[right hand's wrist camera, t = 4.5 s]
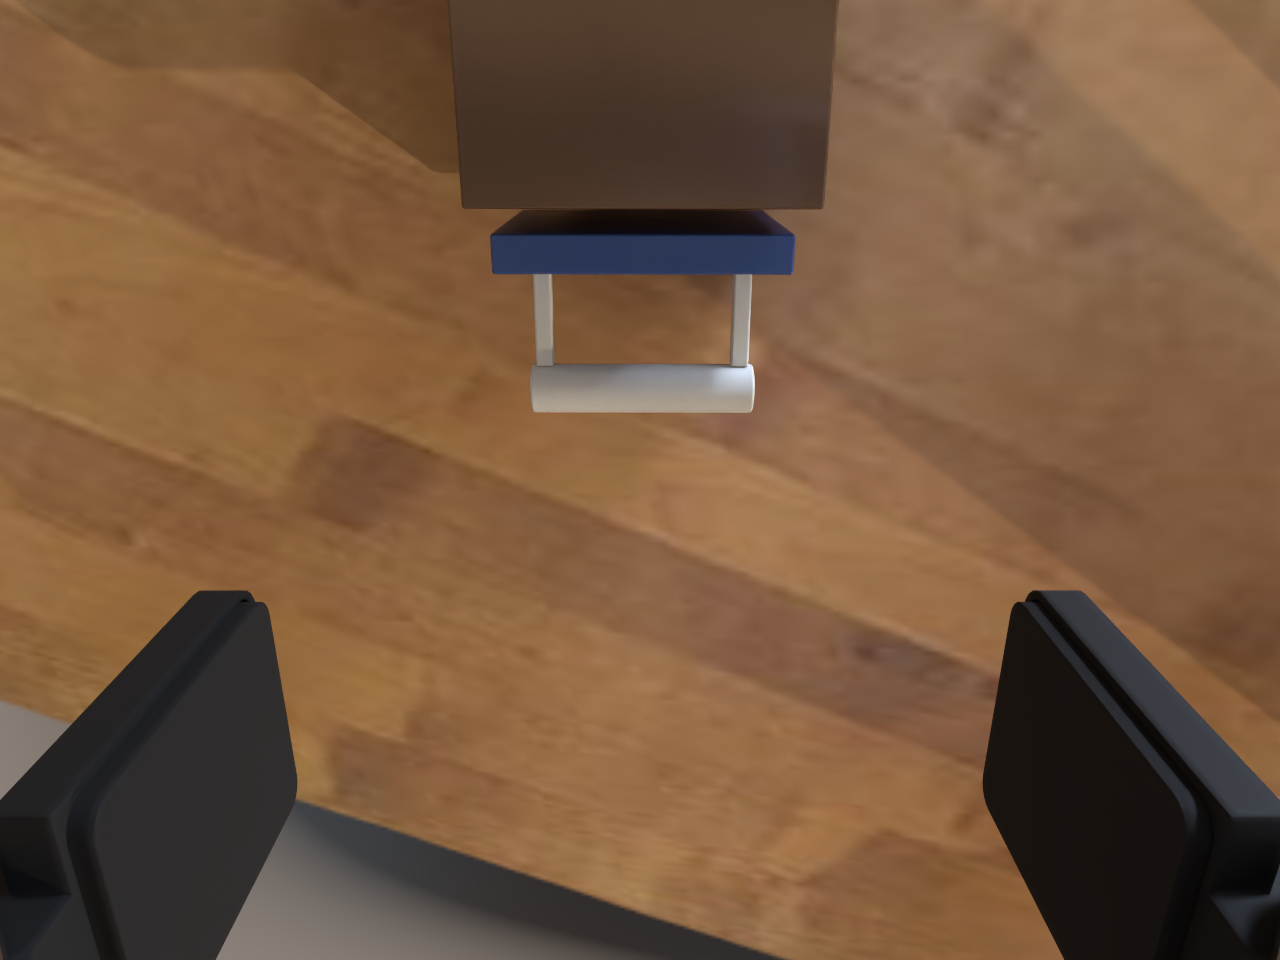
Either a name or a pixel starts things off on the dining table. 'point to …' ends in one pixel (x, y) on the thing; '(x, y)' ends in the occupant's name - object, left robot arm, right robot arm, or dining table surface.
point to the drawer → (642, 249)
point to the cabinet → (643, 103)
